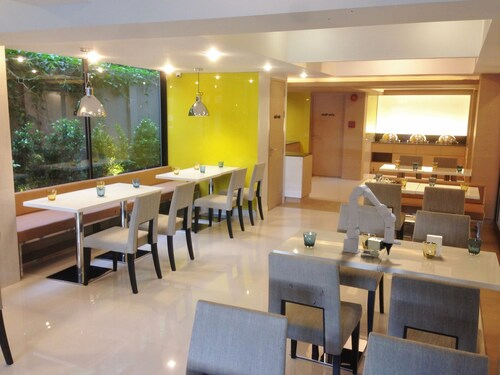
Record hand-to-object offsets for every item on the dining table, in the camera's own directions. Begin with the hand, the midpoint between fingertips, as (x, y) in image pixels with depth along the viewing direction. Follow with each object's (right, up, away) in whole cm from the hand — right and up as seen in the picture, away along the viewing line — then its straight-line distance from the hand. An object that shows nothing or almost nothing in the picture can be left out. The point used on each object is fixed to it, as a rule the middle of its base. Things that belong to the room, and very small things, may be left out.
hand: (388, 254), depth 278 cm
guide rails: (-11, -1, +5) cm, 12 cm away
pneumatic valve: (-7, -2, +4) cm, 8 cm away
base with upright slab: (+32, -1, +10) cm, 34 cm away
